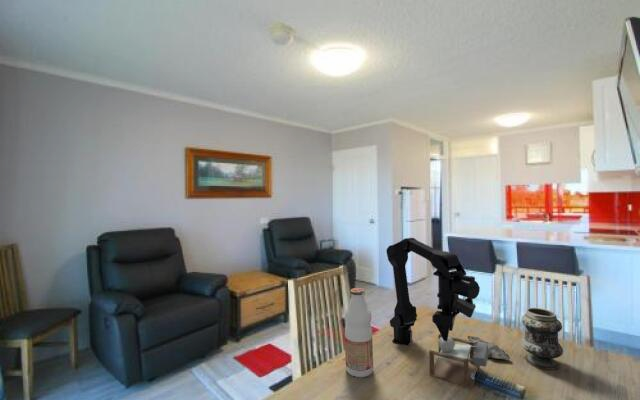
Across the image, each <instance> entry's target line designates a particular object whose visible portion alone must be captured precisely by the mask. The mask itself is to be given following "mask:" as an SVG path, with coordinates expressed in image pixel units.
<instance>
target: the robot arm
mask: <svg viewBox="0 0 640 400" xmlns="http://www.w3.org/2000/svg"><path fill="white" fill-rule="evenodd" d="M411 252H413V253H414V254H416V255H418V256H419V257H422V258H424V259H426V260H427V261H428V262H430V264H431V266H432V267H433V268H435V269H436V270H435V271H434V272H433V276H437V277H438V279H437V280H438V283H437V285H438V292H437V294H436V297H437V298H438V304H437V308H436V309H437V310H436V311H435V312H434V313H433V315H432V317H431V318H432V320H431V321H432V323H434V324H435V327H436V328H437V330H438V332H439V334H441V336H442V338H443V340H444V341H447V340H448V336H449V332H450V331H451V332H452V331H453V329H454V325H455V321H456V317H457V315H459V314H463V315H464V316H466V317H467V318H472V316H473V314H474V312H475V310H476V304H475V303H474V300H475V299H476V298H477V297H478V296H479V294H480V291H481V289H480V286H479V283H478V281H476V277H475V276H472V275H467V271H466V270H465V268H464V267H463V265H462V264H461V262H460V260H459V257H458V255H457V254H455V253H453V252H450V251H449V252H448V251H443V250H439V249H436V248H433V247H431V246H430V245H427V244H426V243H423V242H422V241H419V240H418V239H416V238H414V237H407V238H403V239H402V240H400V241H399V242H396V243H394V244H392V245H388V247H387V248H386V256H387V261H388V262H389V263H390V265H391V266H392V270H393V279H394V287H395V288H394V289H395V294H396V295H395V297H396V305H395V306H394V313H393V314H394V316H393V317H391V319H390V320H389V324H390V325H389V326H390V327H391V328H393V339H392V343H395V344H399V345H403V346H410V344H411V343H412V341H413V330H412V328H411V327H414V326H415V323H416V321H417V317H418V313H417V307H416V306H415V305H413V304H412V303H411V300H410V292H409V285H408V277H407V269H406V268H407V267H406V265H407V263H408V260H409V253H411ZM460 296H462V297H465V299H464V298H460Z"/></svg>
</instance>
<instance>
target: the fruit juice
mask: <svg viewBox="0 0 640 400" xmlns="http://www.w3.org/2000/svg"><path fill="white" fill-rule="evenodd" d="M365 291H366V290H365V289H364V288H361V287H354V288H351V289H350V296H351V297H350V300H349V305H348V307H347V308H346V309H345V312H344V319H345V322H346V325H345V328H344V344H345V345H344V349H345V350H344V352H345V370H346V372H347V374H349V376H352V377H354V376H355V378H365V377H369V376H370V375H372V373H373V371H374V352H373V350H374V349H373V346H374V345H373V342H374V341H373V328H372V325H371V322H372V311H371V310H370V308H369V306H368V303H367V301H366V298H365V294H366V292H365Z"/></svg>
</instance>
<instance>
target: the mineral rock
mask: <svg viewBox="0 0 640 400" xmlns="http://www.w3.org/2000/svg"><path fill="white" fill-rule="evenodd" d="M467 340H468V341H474V346H477V343H484V344H488V348H489V354H488V358H492V359H497V360H498V359H501V360H507V361H509V360H510V359H511V357H510V356H509V354H507V353H506V351H505V350H504V349H502V348H500V347H499V346H498V344H495V343H492V342H488V341H485V340H484V339H481V338H480V337H477V336H471V335H468V336H467ZM468 345H470V344H468ZM474 351H475V349H474Z"/></svg>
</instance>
